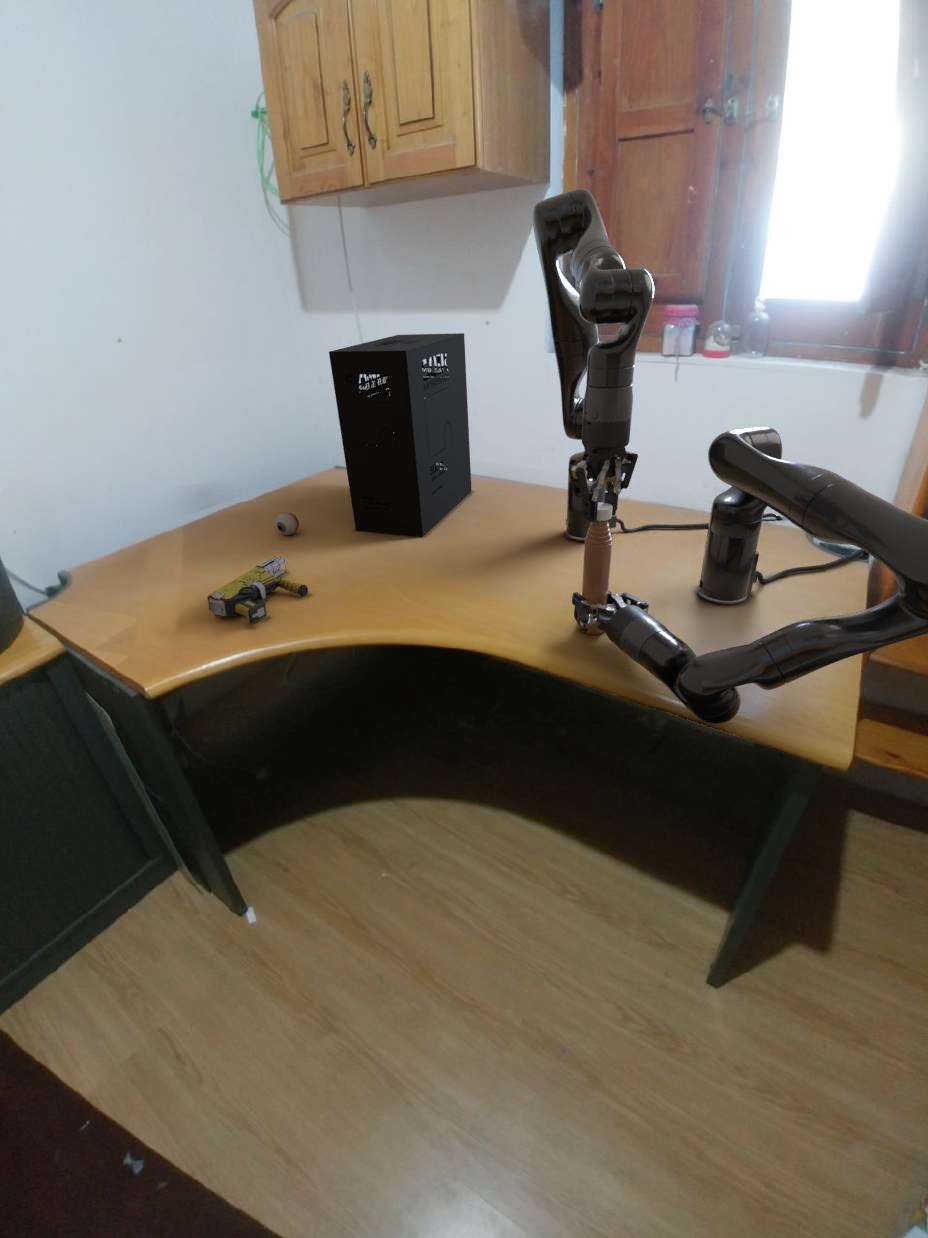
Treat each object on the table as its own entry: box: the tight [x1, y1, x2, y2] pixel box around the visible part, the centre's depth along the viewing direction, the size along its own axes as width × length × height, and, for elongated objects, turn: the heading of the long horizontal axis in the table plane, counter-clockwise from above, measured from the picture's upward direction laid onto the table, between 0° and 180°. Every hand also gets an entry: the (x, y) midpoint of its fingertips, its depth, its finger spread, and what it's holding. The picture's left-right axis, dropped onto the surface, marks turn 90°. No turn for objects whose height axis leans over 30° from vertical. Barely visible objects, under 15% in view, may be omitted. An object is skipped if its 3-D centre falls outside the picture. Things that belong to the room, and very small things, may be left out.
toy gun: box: [206, 555, 309, 625], centre depth 131 cm, size 5×24×15 cm
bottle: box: [581, 520, 613, 635], centre depth 109 cm, size 5×5×24 cm
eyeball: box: [275, 511, 300, 536], centre depth 163 cm, size 6×6×6 cm
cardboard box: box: [328, 332, 472, 537], centre depth 166 cm, size 38×20×45 cm, turn 159°
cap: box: [596, 502, 613, 521], centre depth 103 cm, size 4×4×2 cm
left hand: (600, 517), depth 104 cm, fingers closed on cap, 4 cm apart
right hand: (587, 593), depth 114 cm, fingers closed on bottle, 4 cm apart
